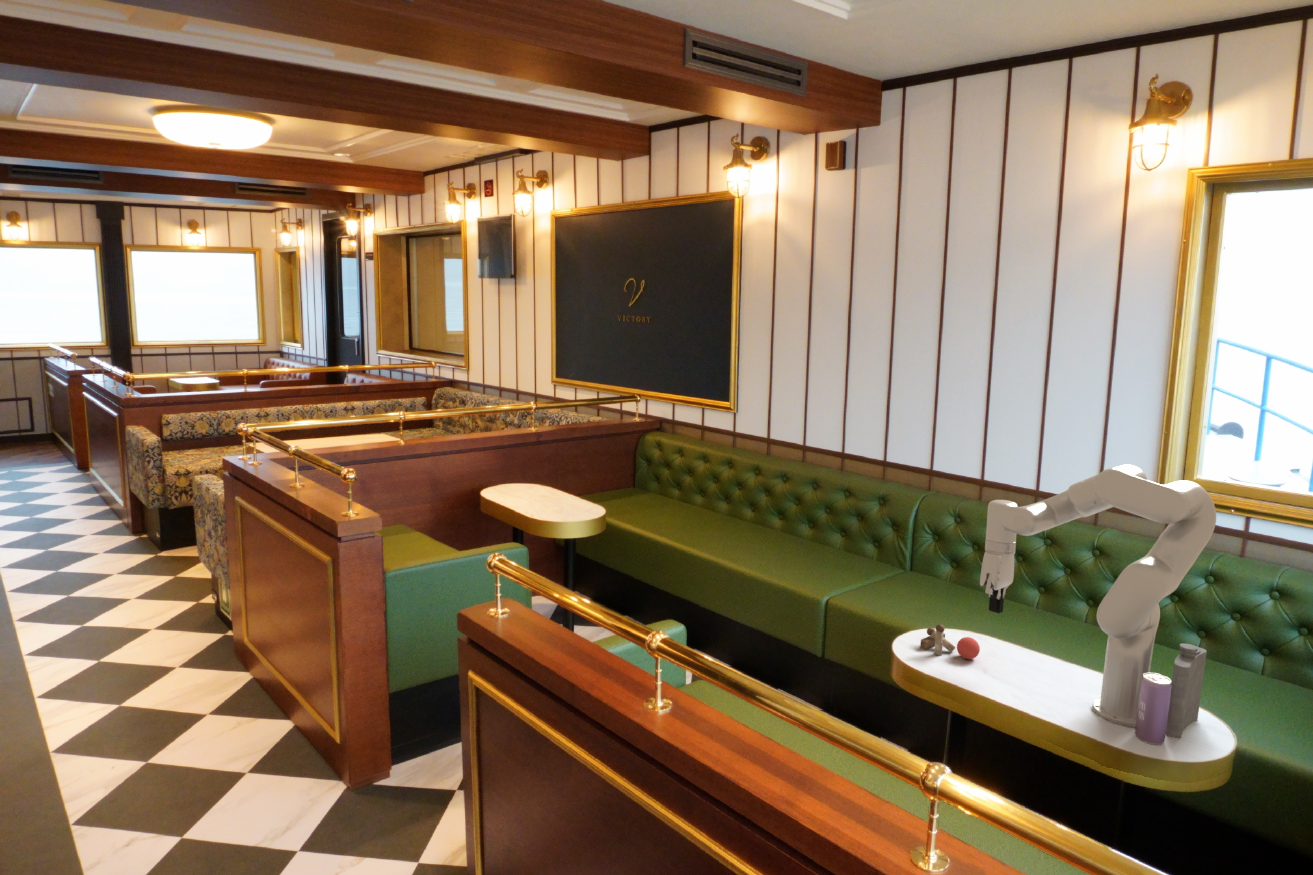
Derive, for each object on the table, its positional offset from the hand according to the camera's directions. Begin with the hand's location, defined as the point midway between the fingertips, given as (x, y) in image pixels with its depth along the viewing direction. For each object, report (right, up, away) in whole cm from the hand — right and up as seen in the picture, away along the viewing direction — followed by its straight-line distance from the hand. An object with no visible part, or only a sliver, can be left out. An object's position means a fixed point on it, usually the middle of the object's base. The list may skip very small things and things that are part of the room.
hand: (995, 611), depth 222 cm
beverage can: (+21, -22, -34) cm, 46 cm away
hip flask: (+32, -22, -27) cm, 48 cm away
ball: (-5, -12, +7) cm, 15 cm away
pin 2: (-8, -13, +11) cm, 19 cm away
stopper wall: (-12, -13, +16) cm, 24 cm away
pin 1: (-12, -14, +10) cm, 21 cm away
